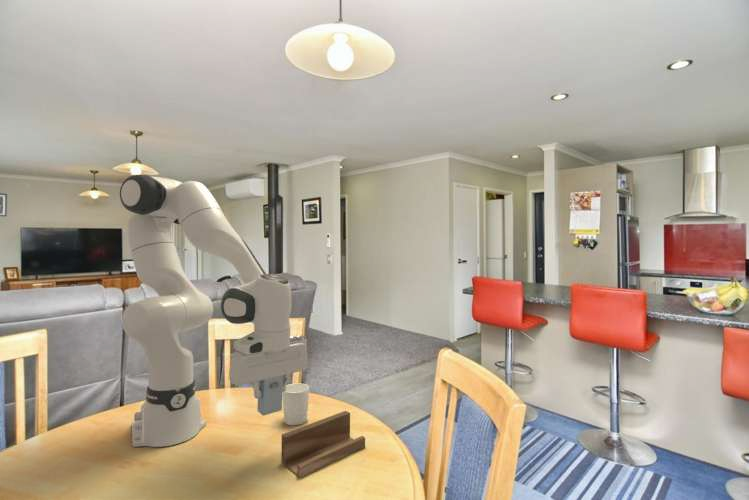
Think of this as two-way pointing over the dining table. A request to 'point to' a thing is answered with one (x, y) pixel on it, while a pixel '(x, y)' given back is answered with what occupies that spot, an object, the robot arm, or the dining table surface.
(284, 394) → the white cup
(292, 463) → the cleat board
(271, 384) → the cabinet block
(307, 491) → the dining table surface
